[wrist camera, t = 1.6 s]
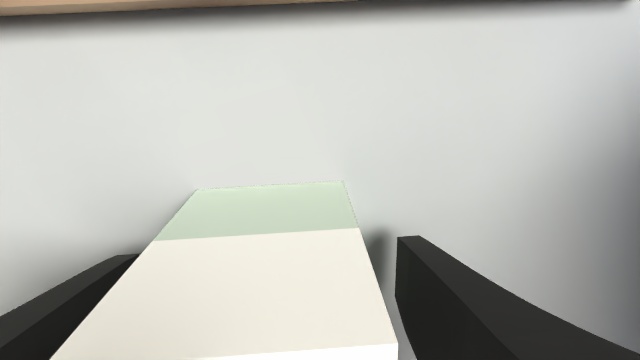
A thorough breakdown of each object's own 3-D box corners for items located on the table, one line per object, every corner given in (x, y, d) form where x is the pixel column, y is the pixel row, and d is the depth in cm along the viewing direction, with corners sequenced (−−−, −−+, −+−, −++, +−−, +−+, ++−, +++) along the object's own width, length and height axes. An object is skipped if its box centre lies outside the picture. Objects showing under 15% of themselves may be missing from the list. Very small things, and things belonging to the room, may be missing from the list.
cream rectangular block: (342, 180, 10) (398, 343, 4) (345, 297, 11) (388, 535, 5) (197, 188, 9) (39, 370, 4) (220, 306, 11) (131, 558, 5)
